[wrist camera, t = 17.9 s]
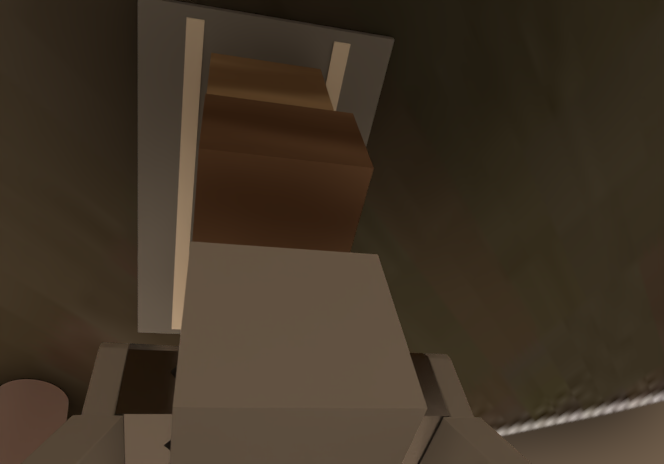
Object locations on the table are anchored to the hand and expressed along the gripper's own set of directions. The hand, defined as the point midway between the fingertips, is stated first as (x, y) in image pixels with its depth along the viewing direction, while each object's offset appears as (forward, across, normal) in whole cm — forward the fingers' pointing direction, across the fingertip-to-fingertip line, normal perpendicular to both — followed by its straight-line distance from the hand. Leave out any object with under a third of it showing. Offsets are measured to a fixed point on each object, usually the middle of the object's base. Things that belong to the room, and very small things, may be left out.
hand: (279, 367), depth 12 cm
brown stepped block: (+12, 0, +4) cm, 13 cm away
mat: (+13, 0, +4) cm, 14 cm away
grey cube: (+2, 0, 0) cm, 2 cm away
